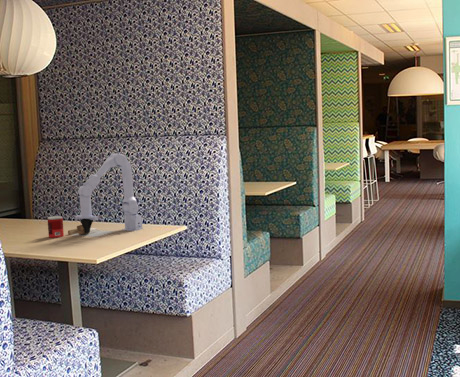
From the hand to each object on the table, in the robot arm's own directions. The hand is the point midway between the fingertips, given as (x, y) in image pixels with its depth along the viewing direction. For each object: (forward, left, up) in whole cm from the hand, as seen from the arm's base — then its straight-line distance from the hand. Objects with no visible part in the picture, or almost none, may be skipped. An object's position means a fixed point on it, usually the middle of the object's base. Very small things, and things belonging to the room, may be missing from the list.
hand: (87, 232), depth 336 cm
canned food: (+14, +9, -2) cm, 17 cm away
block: (+3, 0, -1) cm, 3 cm away
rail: (+10, 0, -1) cm, 10 cm away
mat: (+2, -5, -2) cm, 6 cm away
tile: (+1, -6, 0) cm, 6 cm away
